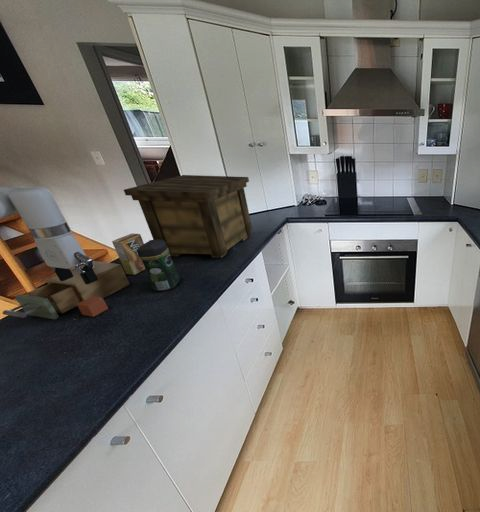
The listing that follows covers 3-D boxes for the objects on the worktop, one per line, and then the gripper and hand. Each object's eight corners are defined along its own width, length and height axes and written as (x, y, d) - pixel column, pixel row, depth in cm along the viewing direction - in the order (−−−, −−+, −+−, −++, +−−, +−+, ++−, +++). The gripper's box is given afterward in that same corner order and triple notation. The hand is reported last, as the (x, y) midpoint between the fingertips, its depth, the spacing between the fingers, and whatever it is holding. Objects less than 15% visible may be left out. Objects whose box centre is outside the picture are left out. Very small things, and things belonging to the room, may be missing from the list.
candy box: (144, 264, 122) (131, 233, 116) (153, 265, 122) (140, 233, 115) (125, 274, 114) (110, 241, 108) (135, 275, 114) (120, 241, 107)
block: (93, 316, 90) (87, 305, 88) (82, 314, 91) (76, 304, 89) (108, 308, 94) (102, 297, 92) (97, 306, 95) (91, 296, 93)
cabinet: (87, 306, 95) (75, 284, 91) (58, 301, 97) (45, 279, 93) (129, 284, 108) (120, 264, 104) (103, 280, 110) (93, 260, 106)
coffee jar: (160, 280, 111) (144, 238, 103) (183, 278, 113) (168, 236, 105) (149, 293, 103) (130, 249, 94) (173, 290, 105) (156, 247, 96)
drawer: (34, 329, 83) (21, 310, 80) (5, 324, 84) (-9, 305, 81) (101, 295, 99) (92, 278, 96) (75, 292, 101) (66, 275, 98)
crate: (225, 262, 126) (206, 192, 111) (151, 260, 126) (123, 189, 112) (259, 234, 157) (248, 177, 142) (200, 232, 158) (183, 175, 143)
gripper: (10, 232, 77) (43, 283, 85) (58, 237, 75) (88, 289, 82) (44, 224, 84) (72, 272, 92) (89, 228, 81) (114, 277, 89)
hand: (79, 280), depth 87 cm, fingers open, 9 cm apart
